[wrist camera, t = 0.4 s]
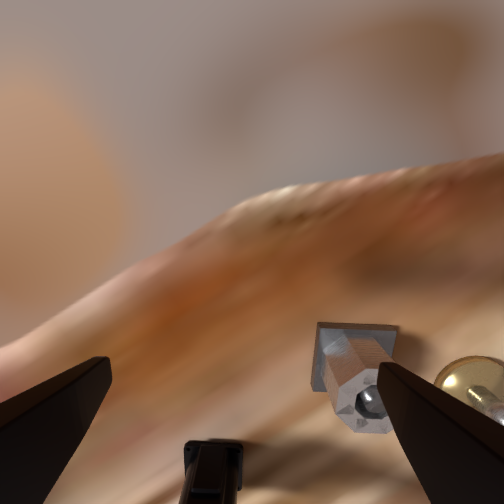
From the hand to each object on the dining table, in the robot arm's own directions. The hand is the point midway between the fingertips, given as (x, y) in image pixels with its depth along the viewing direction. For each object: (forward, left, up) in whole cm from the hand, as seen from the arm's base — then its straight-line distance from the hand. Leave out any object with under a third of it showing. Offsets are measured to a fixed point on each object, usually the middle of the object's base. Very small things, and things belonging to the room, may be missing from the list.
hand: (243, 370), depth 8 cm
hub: (-13, -23, -14) cm, 29 cm away
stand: (-10, -10, -14) cm, 19 cm away
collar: (-10, -10, -13) cm, 19 cm away
